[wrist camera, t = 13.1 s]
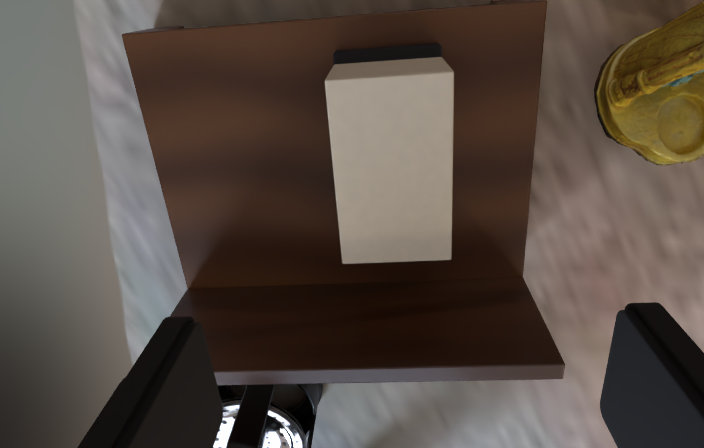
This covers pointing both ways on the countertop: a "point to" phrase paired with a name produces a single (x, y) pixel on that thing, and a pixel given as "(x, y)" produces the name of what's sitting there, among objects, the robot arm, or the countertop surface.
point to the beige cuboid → (392, 152)
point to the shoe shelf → (320, 200)
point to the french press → (266, 418)
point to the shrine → (657, 91)
